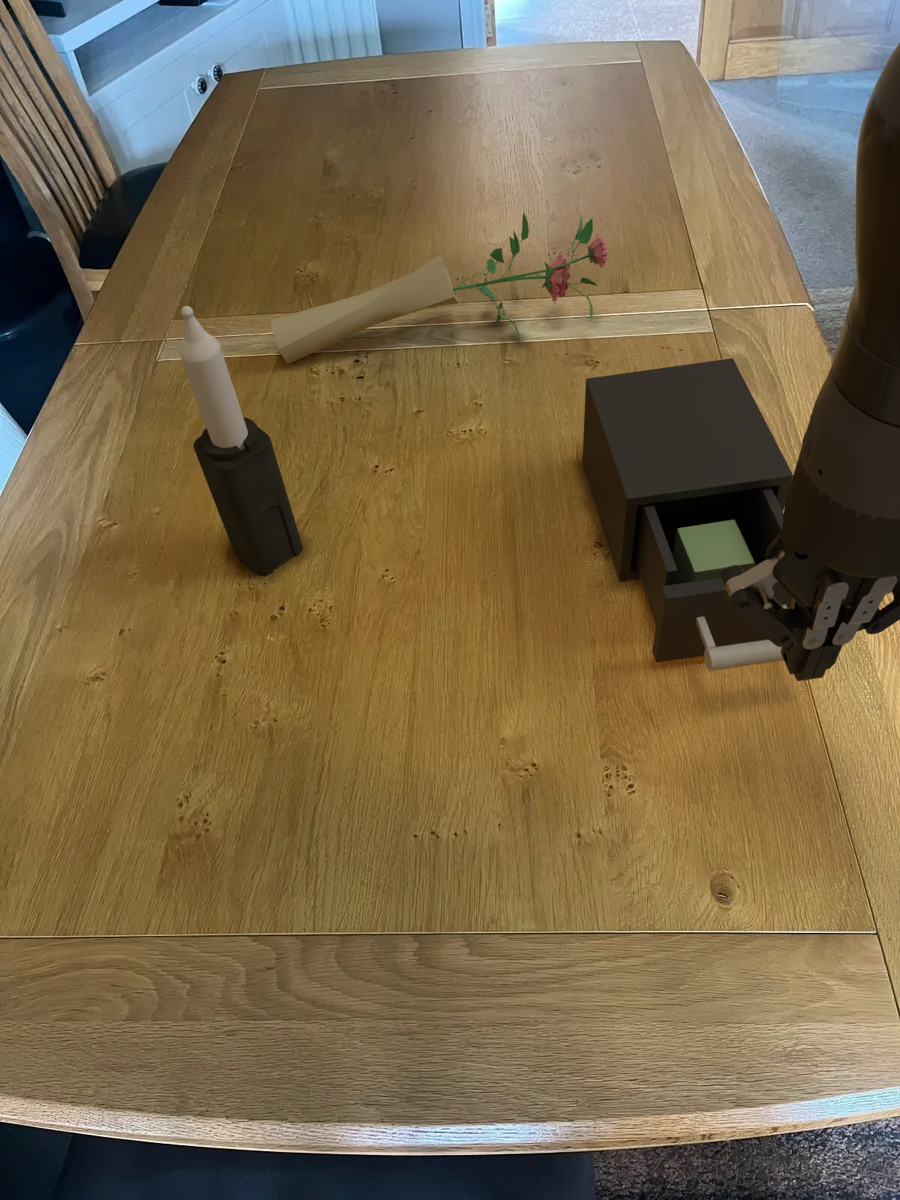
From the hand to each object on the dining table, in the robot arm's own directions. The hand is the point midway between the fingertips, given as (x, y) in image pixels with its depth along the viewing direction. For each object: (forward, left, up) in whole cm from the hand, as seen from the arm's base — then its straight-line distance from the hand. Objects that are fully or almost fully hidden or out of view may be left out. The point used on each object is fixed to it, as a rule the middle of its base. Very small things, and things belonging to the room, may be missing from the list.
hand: (803, 667), depth 57 cm
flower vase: (+17, -56, -13) cm, 60 cm away
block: (0, -15, -10) cm, 18 cm away
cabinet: (0, -26, -12) cm, 29 cm away
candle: (+36, -28, -12) cm, 47 cm away
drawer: (0, -14, -11) cm, 18 cm away
